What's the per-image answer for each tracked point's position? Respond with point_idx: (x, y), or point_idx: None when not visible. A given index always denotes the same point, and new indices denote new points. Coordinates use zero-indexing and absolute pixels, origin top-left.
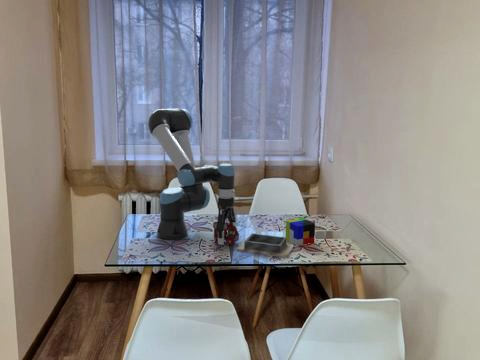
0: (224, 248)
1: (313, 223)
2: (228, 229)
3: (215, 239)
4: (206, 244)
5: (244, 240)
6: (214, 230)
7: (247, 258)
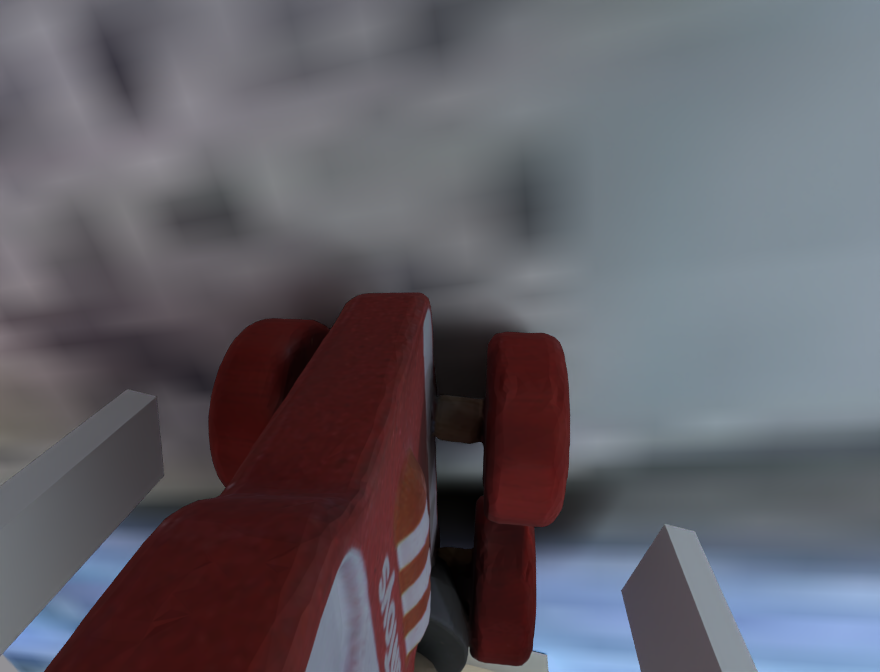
0: (183, 442)
1: None
2: (711, 661)
3: (227, 354)
4: (241, 114)
5: (468, 669)
6: (260, 445)
7: (36, 625)
